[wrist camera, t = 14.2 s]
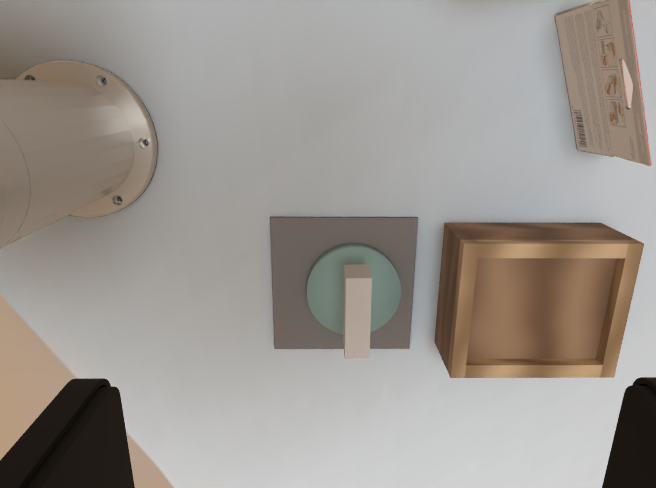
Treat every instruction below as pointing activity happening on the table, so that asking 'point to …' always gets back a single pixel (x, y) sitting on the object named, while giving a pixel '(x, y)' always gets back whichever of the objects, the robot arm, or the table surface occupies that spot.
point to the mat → (302, 252)
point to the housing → (534, 299)
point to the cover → (353, 294)
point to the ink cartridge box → (604, 79)
